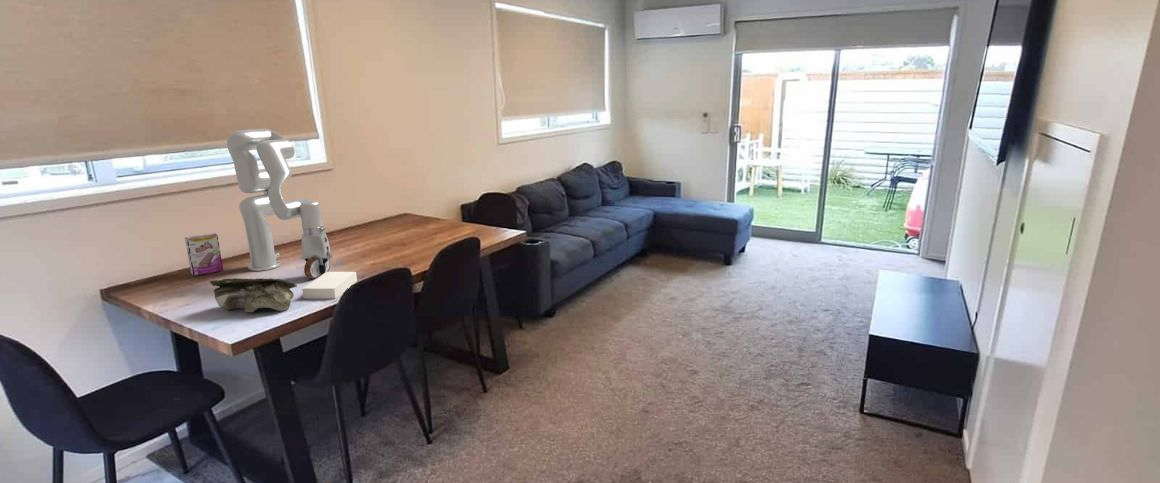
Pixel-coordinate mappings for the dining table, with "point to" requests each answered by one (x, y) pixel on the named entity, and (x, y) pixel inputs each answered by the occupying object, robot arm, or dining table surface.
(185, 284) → the dining table surface
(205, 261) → the candy bar box
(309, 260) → the tin
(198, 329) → the dining table surface
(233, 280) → the hollow geode rock
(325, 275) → the plinth
